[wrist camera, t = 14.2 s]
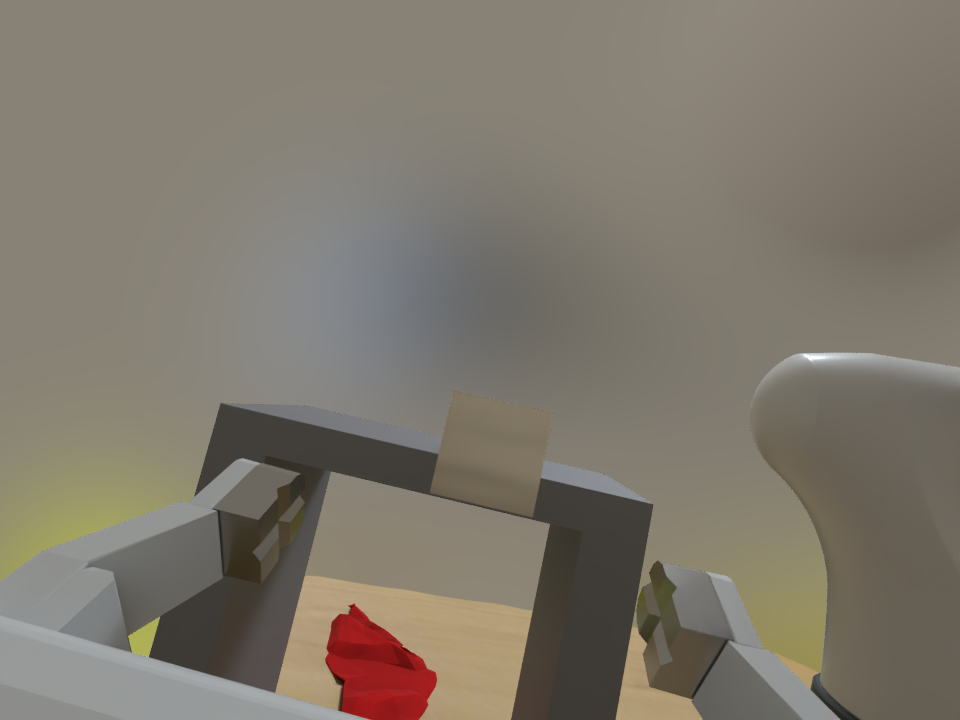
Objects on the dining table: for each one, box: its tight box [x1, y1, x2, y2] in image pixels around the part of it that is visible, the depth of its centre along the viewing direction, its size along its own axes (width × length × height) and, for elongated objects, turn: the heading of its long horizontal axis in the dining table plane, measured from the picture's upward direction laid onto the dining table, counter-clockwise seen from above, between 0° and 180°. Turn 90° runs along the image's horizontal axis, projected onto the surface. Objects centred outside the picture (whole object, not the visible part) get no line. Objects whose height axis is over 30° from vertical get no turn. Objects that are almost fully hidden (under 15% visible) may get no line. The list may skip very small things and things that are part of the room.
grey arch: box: [149, 403, 653, 720], centre depth 25 cm, size 10×22×26 cm, turn 87°
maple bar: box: [430, 391, 554, 517], centre depth 25 cm, size 24×3×3 cm, turn 177°
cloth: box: [326, 604, 437, 720], centre depth 45 cm, size 26×14×2 cm, turn 10°
